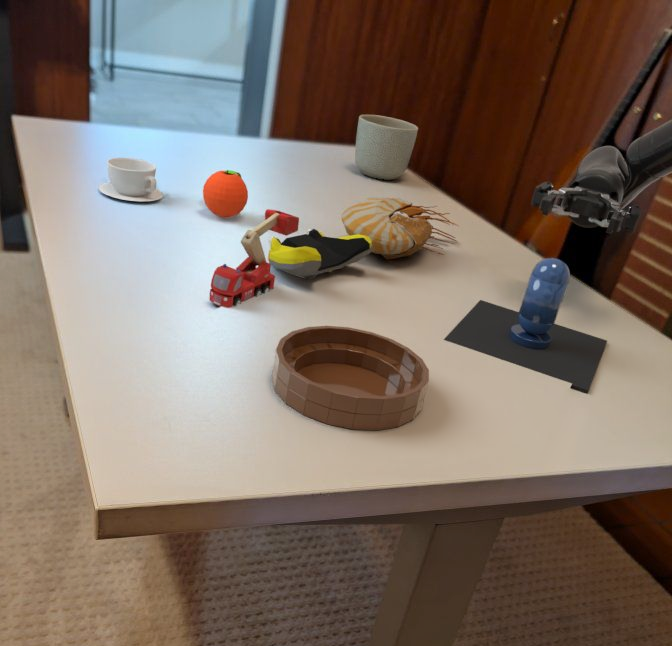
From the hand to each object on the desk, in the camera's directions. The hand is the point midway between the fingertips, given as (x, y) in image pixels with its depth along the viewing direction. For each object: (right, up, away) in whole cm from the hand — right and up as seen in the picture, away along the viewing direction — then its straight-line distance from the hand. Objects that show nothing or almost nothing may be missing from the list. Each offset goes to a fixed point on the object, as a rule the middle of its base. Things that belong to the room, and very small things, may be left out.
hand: (578, 216), depth 98 cm
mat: (-7, -17, -1) cm, 18 cm away
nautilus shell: (-22, 0, +21) cm, 30 cm away
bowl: (-30, -24, -21) cm, 44 cm away
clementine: (-49, +6, +22) cm, 54 cm away
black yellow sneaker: (-35, -6, +7) cm, 36 cm away
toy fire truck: (-42, -11, -4) cm, 44 cm away
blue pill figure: (-7, -16, -1) cm, 18 cm away
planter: (-23, +28, +63) cm, 73 cm away
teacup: (-64, +10, +22) cm, 69 cm away
